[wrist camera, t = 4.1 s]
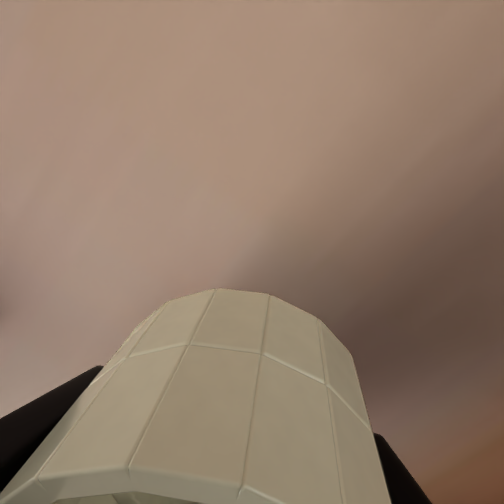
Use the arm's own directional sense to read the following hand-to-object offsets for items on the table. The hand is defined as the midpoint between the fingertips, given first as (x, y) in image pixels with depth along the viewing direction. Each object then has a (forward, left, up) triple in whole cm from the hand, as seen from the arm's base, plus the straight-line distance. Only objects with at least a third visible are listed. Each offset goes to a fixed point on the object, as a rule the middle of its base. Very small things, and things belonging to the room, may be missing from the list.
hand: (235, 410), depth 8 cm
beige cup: (0, 0, -1) cm, 1 cm away
